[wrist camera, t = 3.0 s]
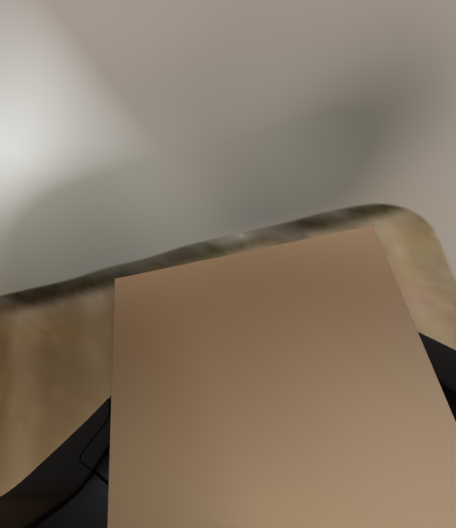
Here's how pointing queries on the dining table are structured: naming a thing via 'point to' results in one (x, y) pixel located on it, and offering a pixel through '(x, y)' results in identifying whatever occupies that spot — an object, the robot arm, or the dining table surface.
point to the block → (277, 395)
